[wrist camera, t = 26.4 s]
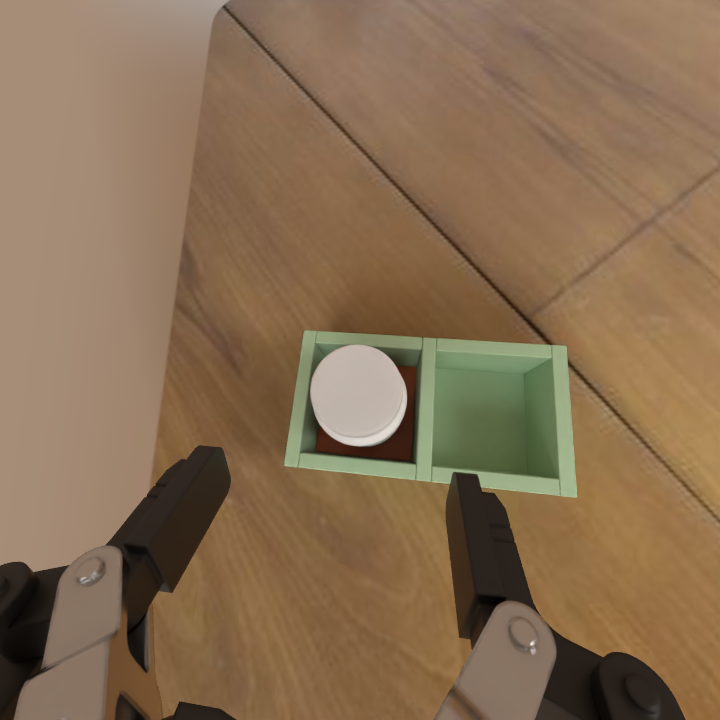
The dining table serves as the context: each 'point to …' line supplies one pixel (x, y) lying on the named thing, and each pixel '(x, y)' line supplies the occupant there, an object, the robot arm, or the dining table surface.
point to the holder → (453, 414)
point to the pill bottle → (358, 396)
